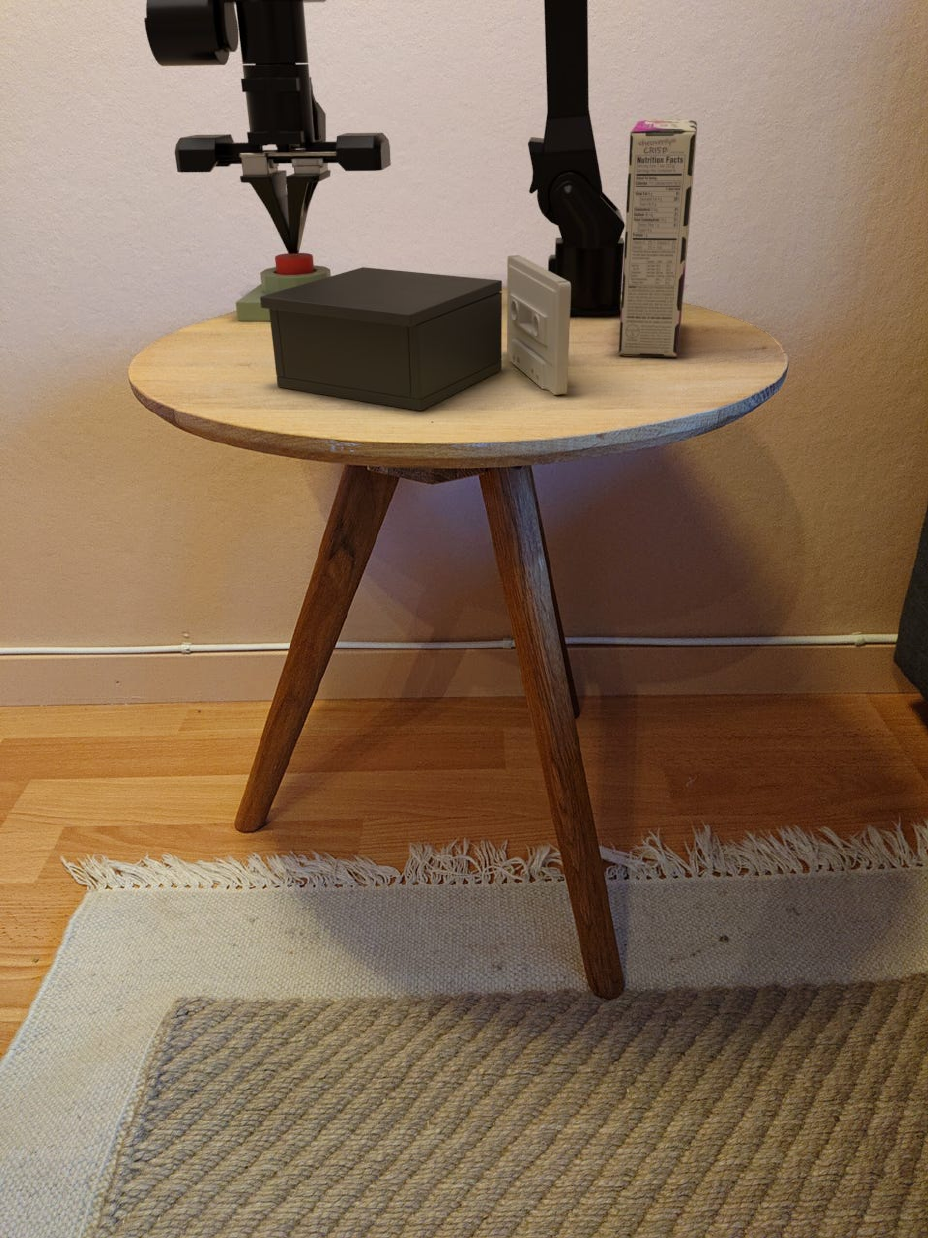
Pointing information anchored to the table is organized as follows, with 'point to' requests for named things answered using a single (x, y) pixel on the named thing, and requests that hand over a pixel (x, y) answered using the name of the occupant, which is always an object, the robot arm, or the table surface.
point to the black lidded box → (389, 354)
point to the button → (294, 264)
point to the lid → (382, 295)
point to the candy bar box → (656, 236)
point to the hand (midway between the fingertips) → (293, 252)
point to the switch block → (273, 291)
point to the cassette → (538, 323)
